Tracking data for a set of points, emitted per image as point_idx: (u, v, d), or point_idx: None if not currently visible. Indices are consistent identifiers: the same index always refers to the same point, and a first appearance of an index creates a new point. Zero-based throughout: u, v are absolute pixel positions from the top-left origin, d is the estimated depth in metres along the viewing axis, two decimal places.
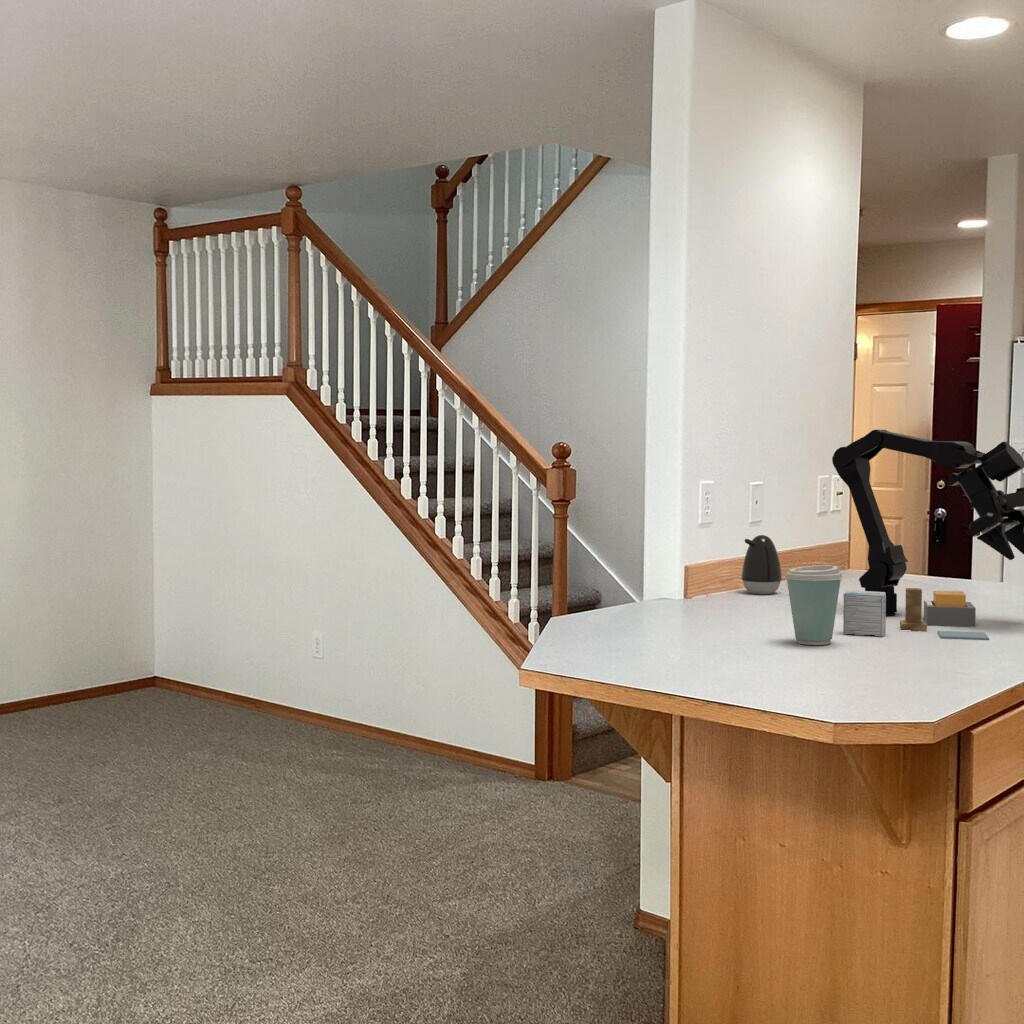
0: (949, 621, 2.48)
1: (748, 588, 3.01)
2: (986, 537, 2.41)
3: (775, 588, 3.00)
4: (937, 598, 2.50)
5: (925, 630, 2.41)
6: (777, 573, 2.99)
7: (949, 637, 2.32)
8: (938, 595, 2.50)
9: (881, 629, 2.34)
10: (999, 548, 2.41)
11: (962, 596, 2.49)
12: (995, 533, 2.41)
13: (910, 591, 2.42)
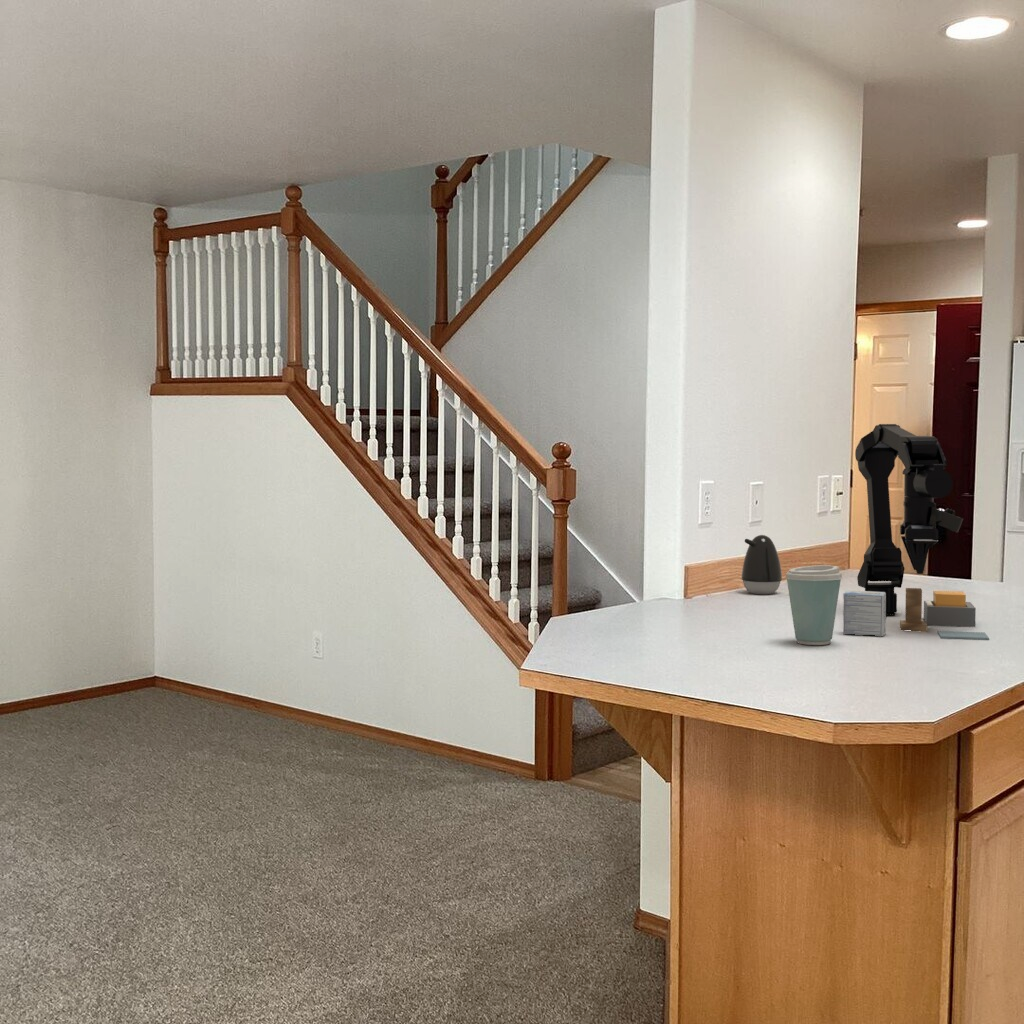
0: (949, 621, 2.48)
1: (748, 588, 3.01)
2: (912, 544, 2.37)
3: (775, 588, 3.00)
4: (937, 598, 2.50)
5: (925, 630, 2.41)
6: (777, 573, 2.99)
7: (949, 637, 2.32)
8: (938, 595, 2.50)
9: (881, 629, 2.34)
10: (916, 559, 2.38)
11: (962, 596, 2.49)
12: (921, 544, 2.37)
13: (910, 591, 2.42)
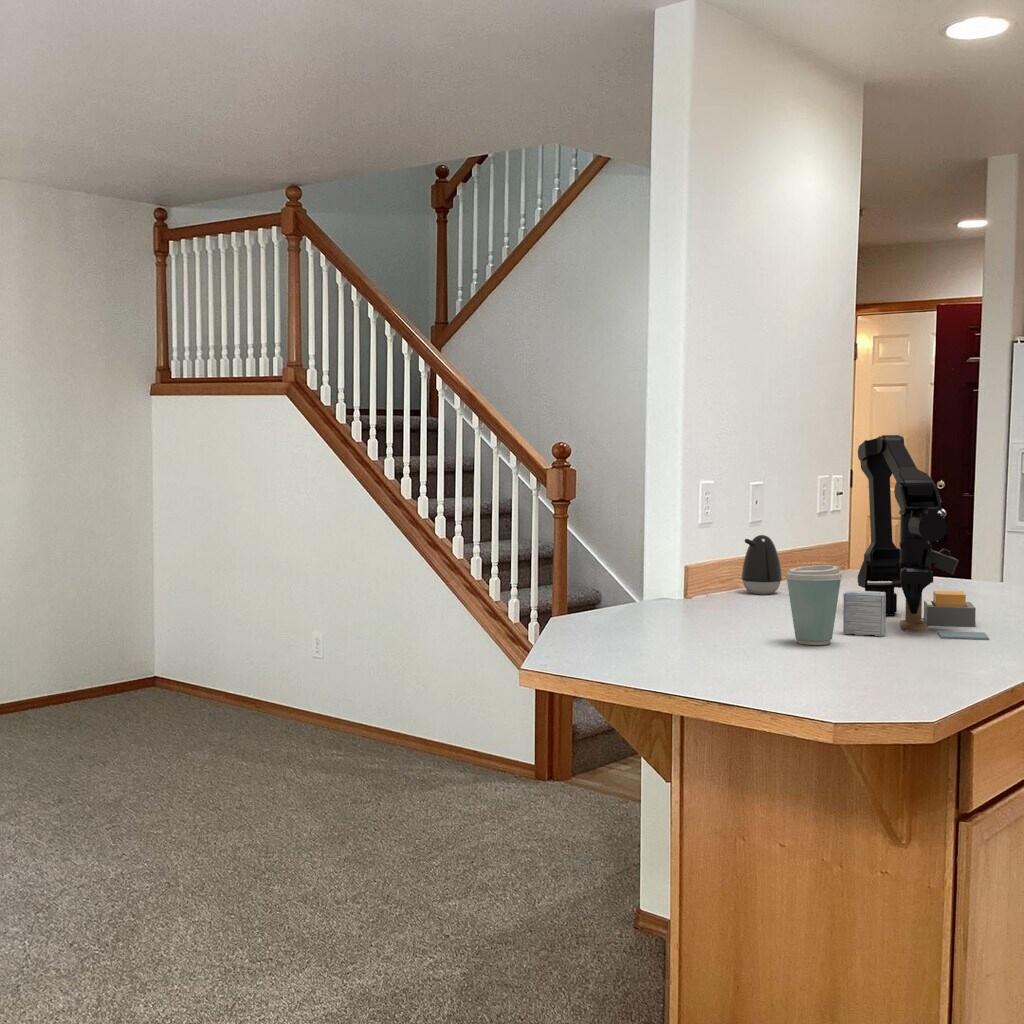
0: (949, 621, 2.48)
1: (748, 588, 3.01)
2: (907, 584, 2.40)
3: (775, 588, 3.00)
4: (937, 598, 2.50)
5: (925, 630, 2.41)
6: (777, 573, 2.99)
7: (949, 637, 2.32)
8: (938, 595, 2.50)
9: (881, 629, 2.34)
10: (910, 599, 2.41)
11: (962, 596, 2.49)
12: (915, 585, 2.41)
13: None
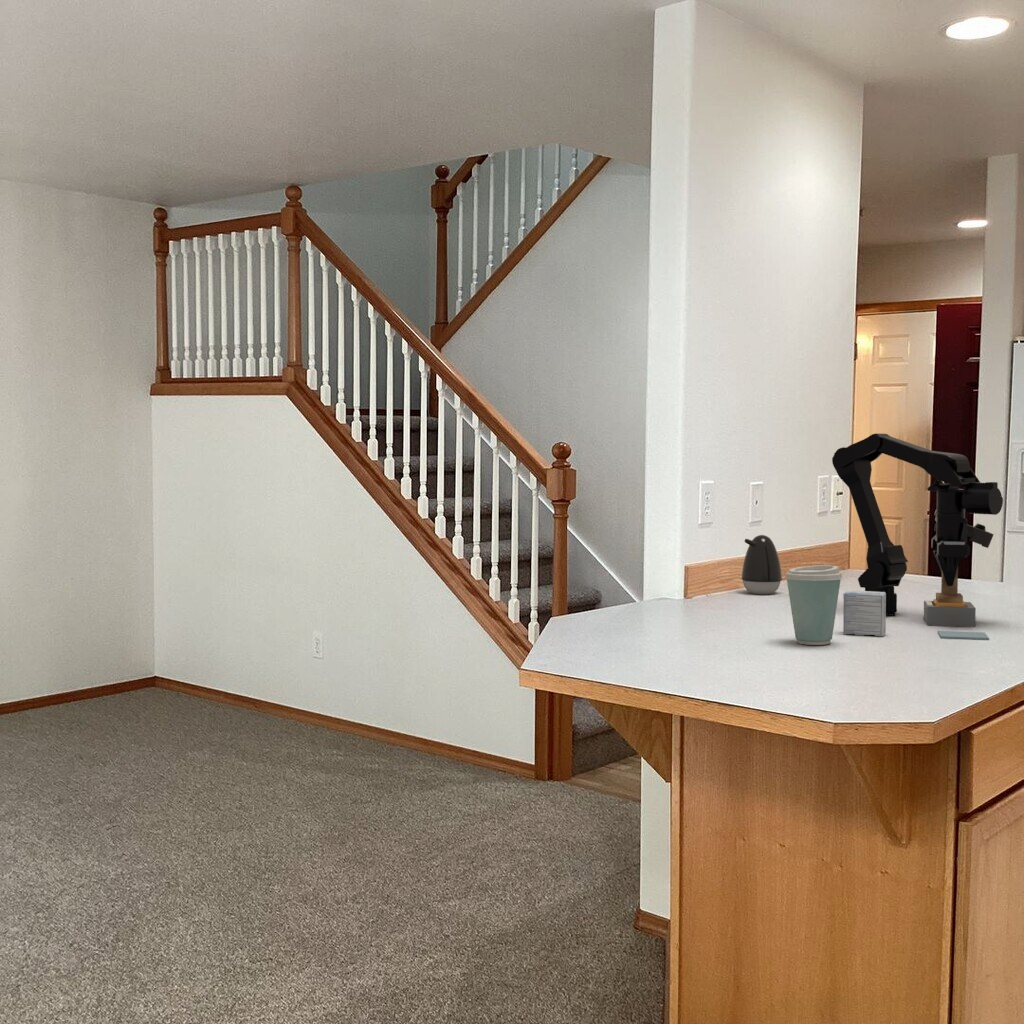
0: (949, 621, 2.48)
1: (748, 588, 3.01)
2: (943, 557, 2.48)
3: (775, 588, 3.00)
4: None
5: (961, 601, 2.49)
6: (777, 573, 2.99)
7: (949, 637, 2.32)
8: (938, 604, 2.50)
9: (881, 629, 2.34)
10: (946, 572, 2.49)
11: (962, 605, 2.49)
12: (951, 558, 2.49)
13: None
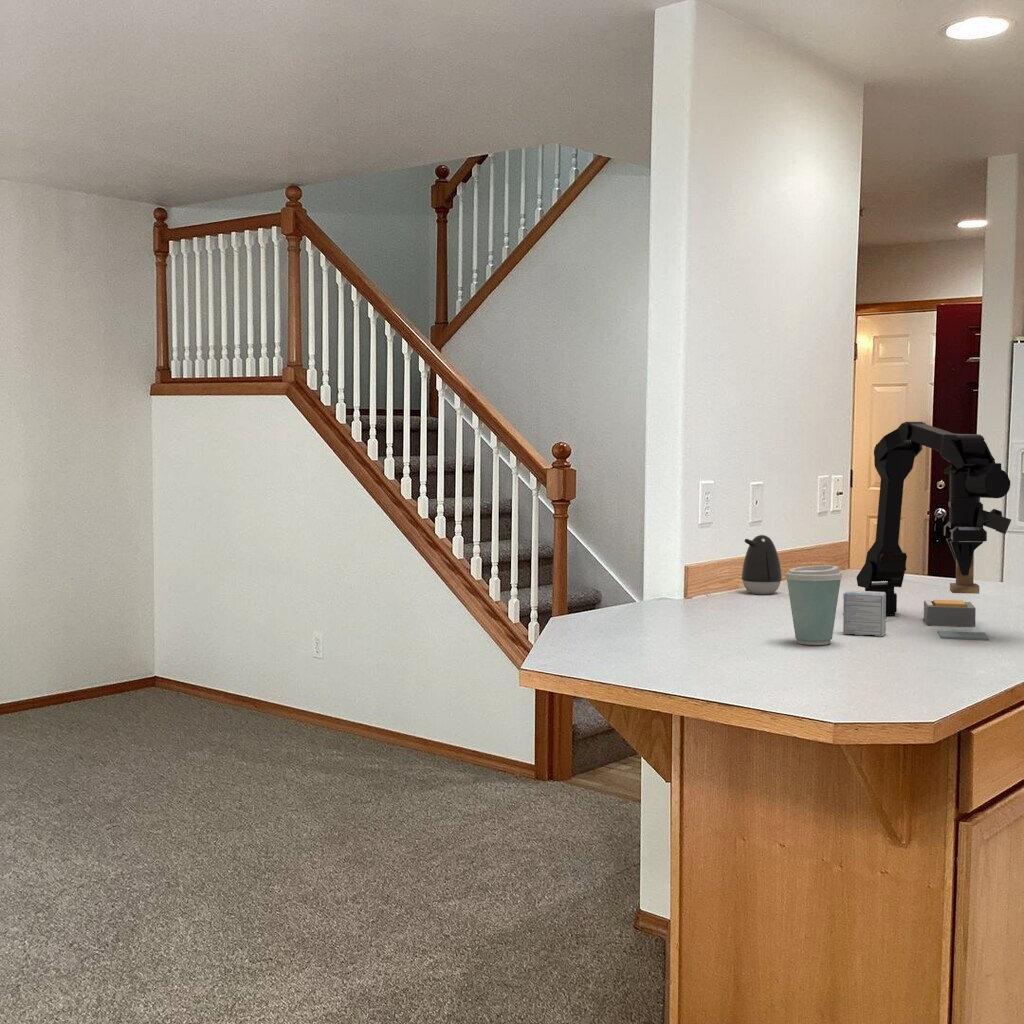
0: (949, 621, 2.48)
1: (748, 588, 3.01)
2: (958, 545, 2.32)
3: (775, 588, 3.00)
4: None
5: (977, 592, 2.32)
6: (777, 573, 2.99)
7: (949, 637, 2.32)
8: (938, 604, 2.50)
9: (881, 629, 2.34)
10: (961, 560, 2.32)
11: (962, 605, 2.49)
12: (966, 545, 2.32)
13: None
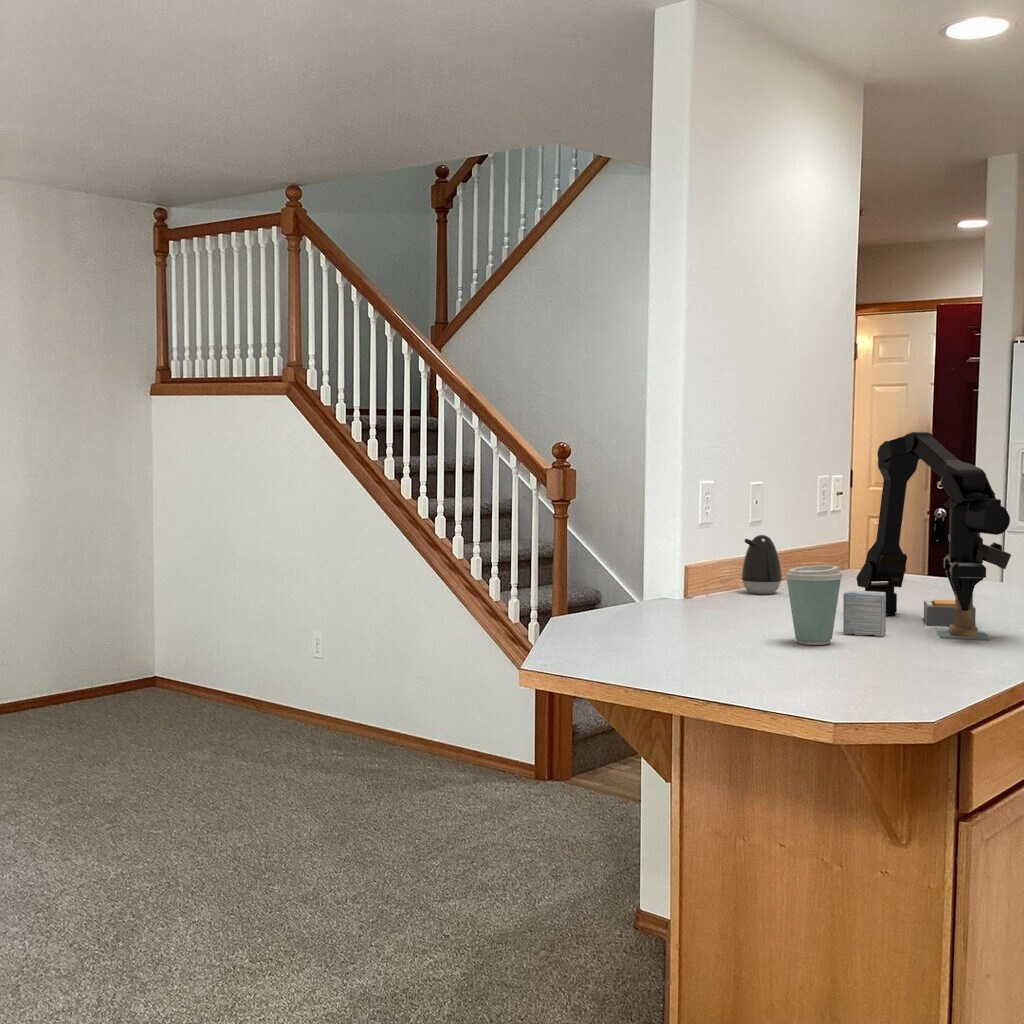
0: (949, 621, 2.48)
1: (748, 588, 3.01)
2: (958, 580, 2.30)
3: (775, 588, 3.00)
4: None
5: (976, 635, 2.32)
6: (777, 573, 2.99)
7: (949, 637, 2.32)
8: (938, 604, 2.50)
9: (881, 629, 2.34)
10: (961, 596, 2.31)
11: None
12: (967, 581, 2.30)
13: None
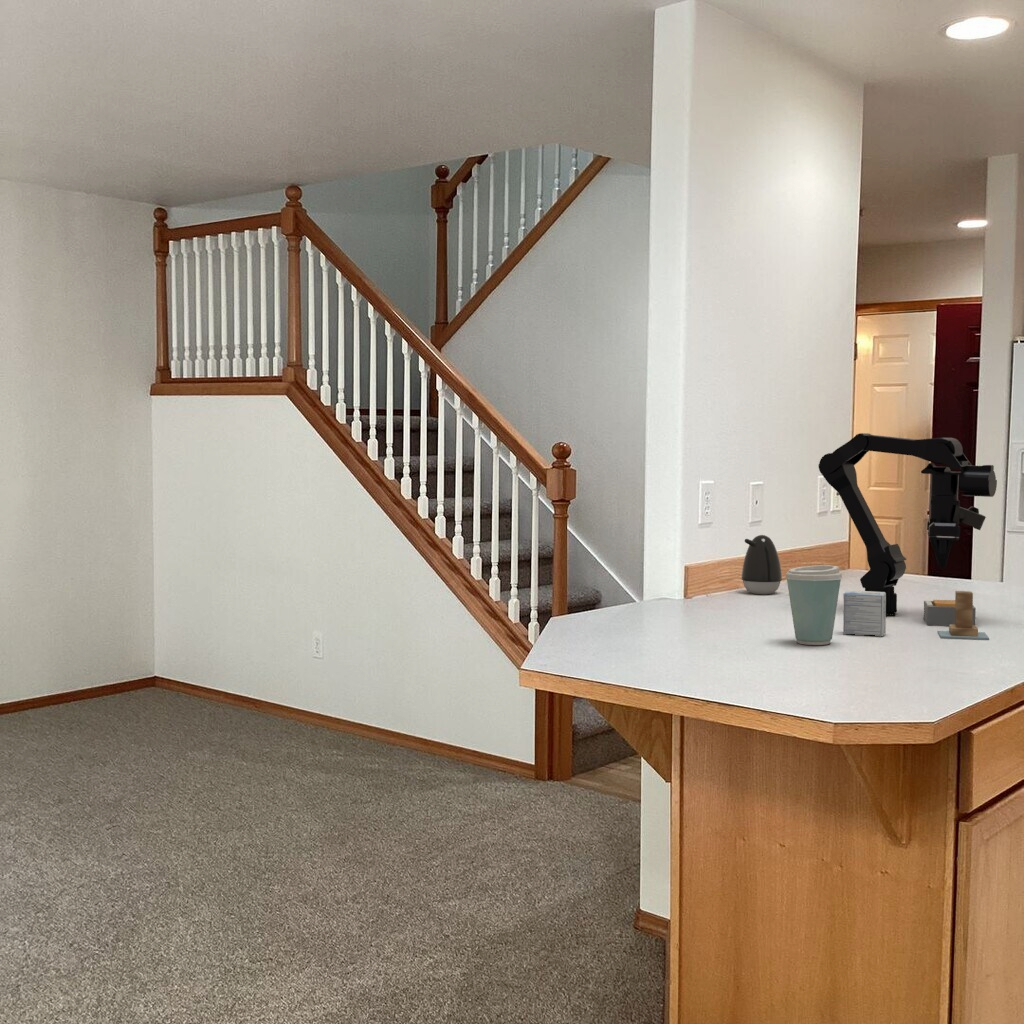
0: (949, 621, 2.48)
1: (748, 588, 3.01)
2: (936, 540, 2.50)
3: (775, 588, 3.00)
4: None
5: (976, 635, 2.32)
6: (777, 573, 2.99)
7: (949, 637, 2.32)
8: (938, 604, 2.50)
9: (881, 629, 2.34)
10: (939, 554, 2.51)
11: None
12: (944, 540, 2.50)
13: (960, 594, 2.33)
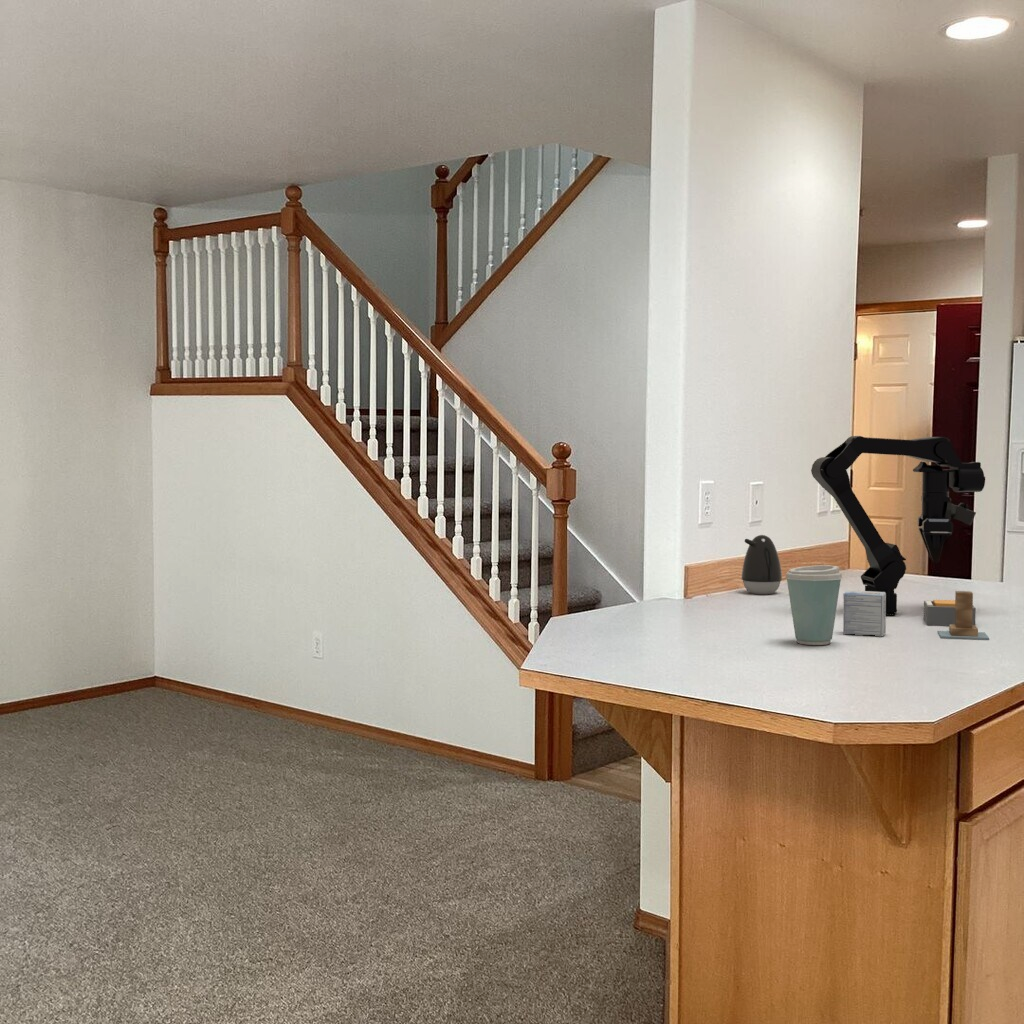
0: (949, 621, 2.48)
1: (748, 588, 3.01)
2: (929, 535, 2.59)
3: (775, 588, 3.00)
4: None
5: (976, 635, 2.32)
6: (777, 573, 2.99)
7: (949, 637, 2.32)
8: (938, 604, 2.50)
9: (881, 629, 2.34)
10: (933, 549, 2.60)
11: None
12: (937, 536, 2.60)
13: (960, 594, 2.33)
